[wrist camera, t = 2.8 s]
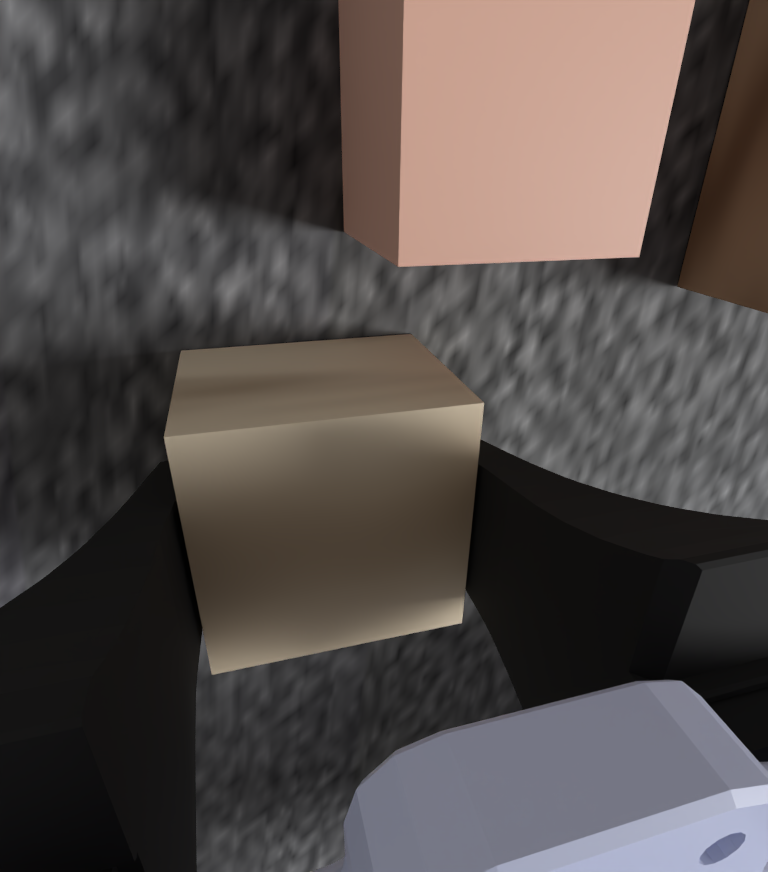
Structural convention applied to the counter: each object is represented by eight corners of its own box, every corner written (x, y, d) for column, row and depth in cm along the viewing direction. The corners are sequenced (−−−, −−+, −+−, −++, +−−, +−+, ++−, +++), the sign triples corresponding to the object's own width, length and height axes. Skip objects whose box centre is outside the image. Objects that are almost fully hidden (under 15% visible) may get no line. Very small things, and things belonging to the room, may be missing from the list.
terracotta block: (519, 227, 12) (639, 257, 9) (343, 231, 11) (398, 266, 8) (546, 0, 10) (712, -76, 7) (337, -18, 9) (406, -116, 6)
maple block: (405, 513, 15) (461, 622, 11) (214, 542, 14) (211, 675, 10) (411, 333, 12) (483, 402, 9) (180, 350, 11) (164, 437, 8)
